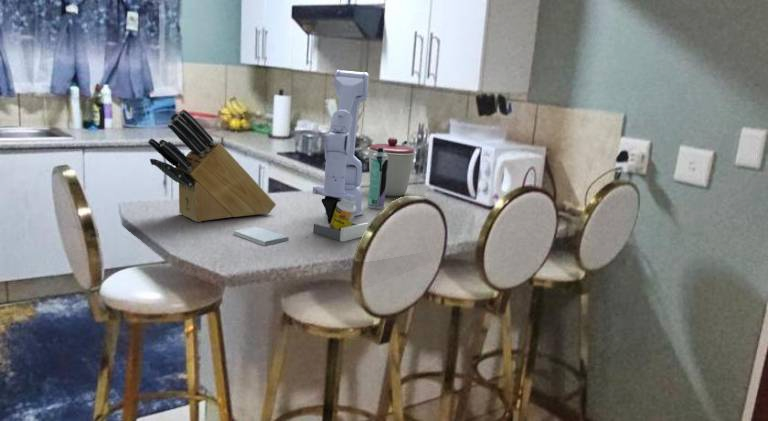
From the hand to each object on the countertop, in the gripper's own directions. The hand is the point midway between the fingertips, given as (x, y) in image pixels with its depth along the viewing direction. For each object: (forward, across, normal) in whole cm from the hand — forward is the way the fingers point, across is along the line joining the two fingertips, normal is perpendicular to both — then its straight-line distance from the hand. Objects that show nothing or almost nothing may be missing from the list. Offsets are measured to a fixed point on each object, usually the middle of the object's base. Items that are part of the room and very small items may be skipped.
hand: (331, 223), depth 176 cm
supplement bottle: (+2, +3, 0) cm, 3 cm away
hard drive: (+3, -7, -20) cm, 21 cm away
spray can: (+2, -12, +35) cm, 37 cm away
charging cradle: (+2, +3, 0) cm, 4 cm away
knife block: (+2, -31, -17) cm, 35 cm away
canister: (+2, -23, +56) cm, 61 cm away
